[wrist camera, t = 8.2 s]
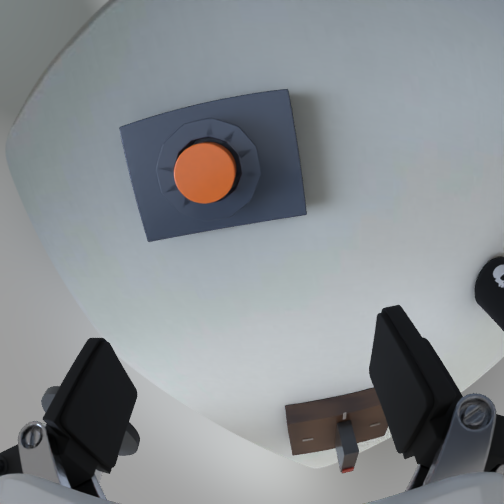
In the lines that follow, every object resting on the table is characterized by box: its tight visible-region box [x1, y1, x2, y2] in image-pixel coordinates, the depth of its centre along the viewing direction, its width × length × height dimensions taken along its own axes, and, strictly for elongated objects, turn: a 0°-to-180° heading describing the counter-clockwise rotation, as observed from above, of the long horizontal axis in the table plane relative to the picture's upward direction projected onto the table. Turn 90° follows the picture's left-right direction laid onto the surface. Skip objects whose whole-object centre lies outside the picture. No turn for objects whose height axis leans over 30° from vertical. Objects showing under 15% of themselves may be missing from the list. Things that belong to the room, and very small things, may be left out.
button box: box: [119, 89, 307, 242], centre depth 19 cm, size 12×9×4 cm
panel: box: [285, 388, 388, 455], centre depth 32 cm, size 14×11×3 cm
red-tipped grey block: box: [335, 420, 359, 473], centre depth 29 cm, size 6×2×5 cm, turn 10°
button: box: [174, 142, 236, 204], centre depth 17 cm, size 4×4×2 cm
